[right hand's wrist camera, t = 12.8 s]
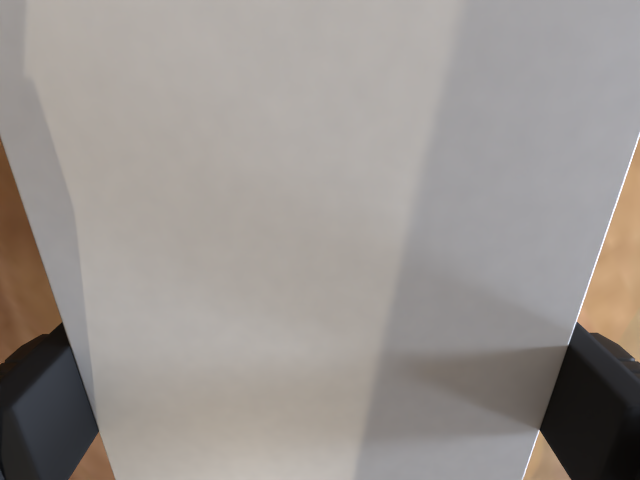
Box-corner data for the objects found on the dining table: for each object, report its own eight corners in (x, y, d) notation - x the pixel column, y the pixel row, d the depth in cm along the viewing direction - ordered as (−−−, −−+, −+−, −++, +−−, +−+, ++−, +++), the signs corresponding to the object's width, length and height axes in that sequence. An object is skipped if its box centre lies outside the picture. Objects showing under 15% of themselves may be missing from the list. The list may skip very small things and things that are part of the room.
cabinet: (110, -286, 10) (-476, -1264, 3) (528, -282, 10) (1111, -1237, 3) (201, 318, 18) (120, 497, 11) (435, 318, 18) (518, 496, 11)
